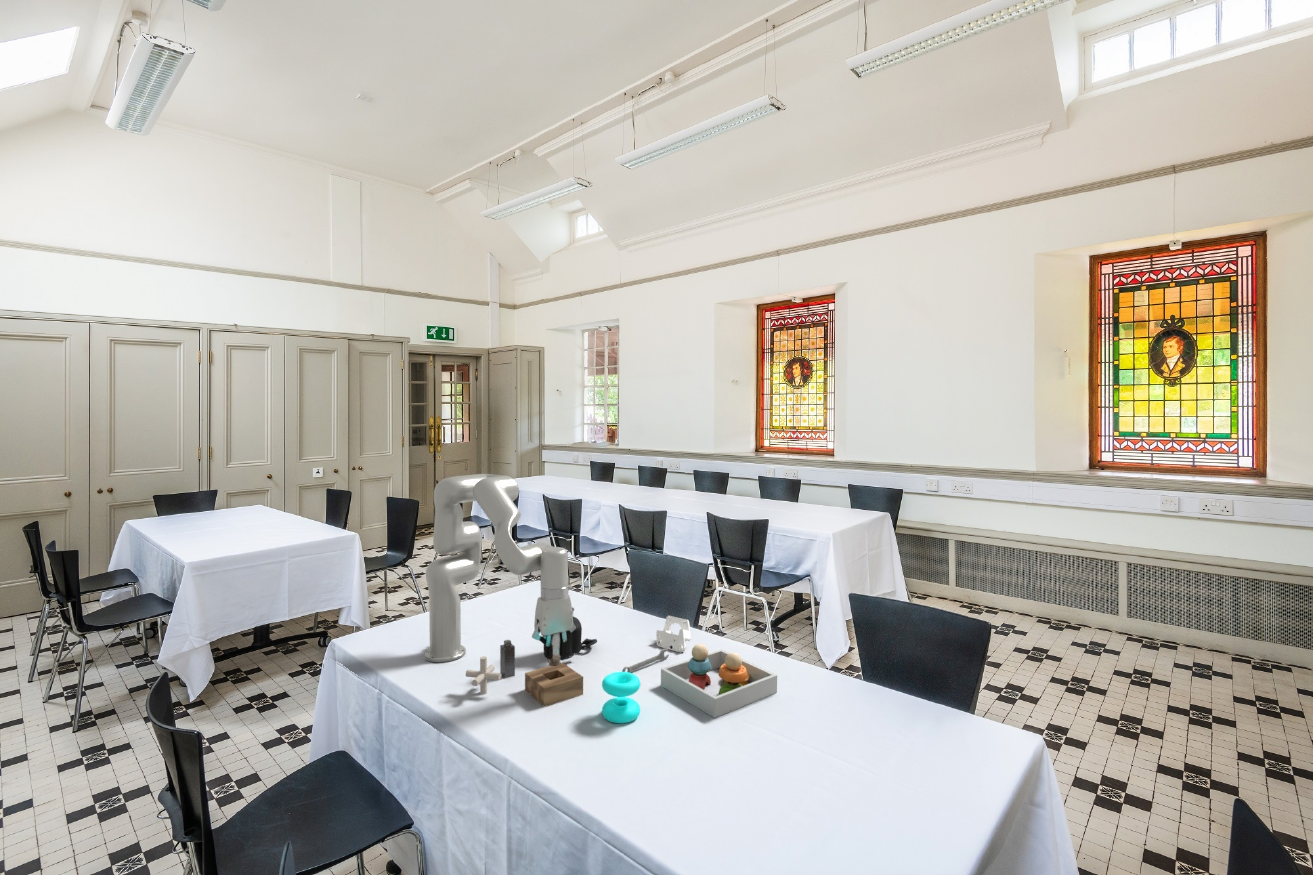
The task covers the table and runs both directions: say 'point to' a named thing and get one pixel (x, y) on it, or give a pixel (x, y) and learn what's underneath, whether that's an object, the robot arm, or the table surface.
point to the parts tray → (726, 702)
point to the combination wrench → (647, 661)
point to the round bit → (555, 649)
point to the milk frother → (576, 640)
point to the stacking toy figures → (728, 672)
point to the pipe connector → (483, 675)
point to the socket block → (553, 684)
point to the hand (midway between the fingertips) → (554, 655)
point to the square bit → (507, 659)
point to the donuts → (621, 697)
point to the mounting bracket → (670, 639)
